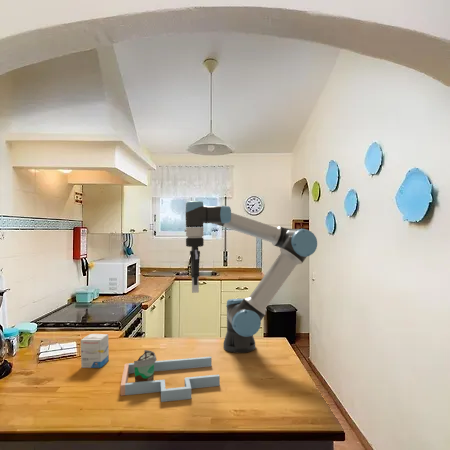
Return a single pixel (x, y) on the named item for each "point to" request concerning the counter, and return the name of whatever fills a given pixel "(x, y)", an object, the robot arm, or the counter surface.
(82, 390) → the counter surface
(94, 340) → the ink box
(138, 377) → the food container
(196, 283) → the robot arm
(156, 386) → the channel
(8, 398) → the counter surface
